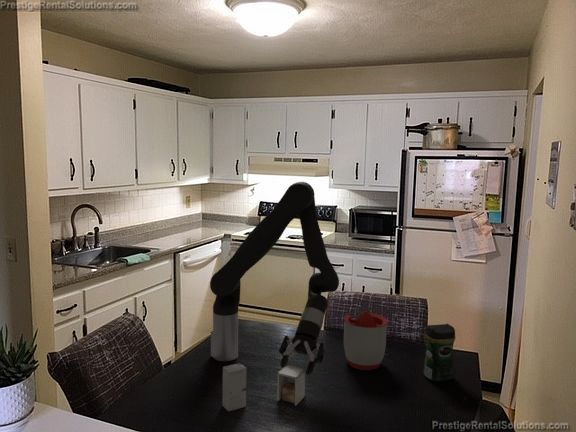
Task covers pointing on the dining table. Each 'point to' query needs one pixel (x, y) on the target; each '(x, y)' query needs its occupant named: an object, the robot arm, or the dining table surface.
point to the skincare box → (234, 387)
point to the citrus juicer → (365, 340)
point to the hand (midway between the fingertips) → (295, 371)
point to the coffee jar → (439, 352)
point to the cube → (289, 392)
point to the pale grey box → (291, 381)
